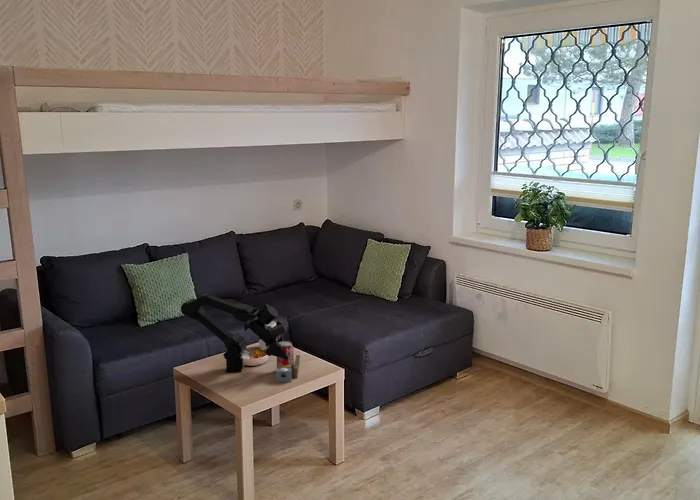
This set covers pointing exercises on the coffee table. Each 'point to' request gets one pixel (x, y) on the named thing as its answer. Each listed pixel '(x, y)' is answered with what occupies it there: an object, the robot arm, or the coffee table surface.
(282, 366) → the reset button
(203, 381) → the coffee table surface
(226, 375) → the coffee table surface
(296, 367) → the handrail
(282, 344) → the soda can
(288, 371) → the gauge cabinet
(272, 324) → the mug
